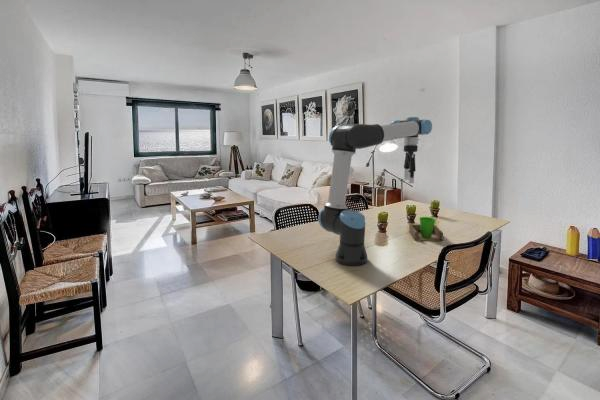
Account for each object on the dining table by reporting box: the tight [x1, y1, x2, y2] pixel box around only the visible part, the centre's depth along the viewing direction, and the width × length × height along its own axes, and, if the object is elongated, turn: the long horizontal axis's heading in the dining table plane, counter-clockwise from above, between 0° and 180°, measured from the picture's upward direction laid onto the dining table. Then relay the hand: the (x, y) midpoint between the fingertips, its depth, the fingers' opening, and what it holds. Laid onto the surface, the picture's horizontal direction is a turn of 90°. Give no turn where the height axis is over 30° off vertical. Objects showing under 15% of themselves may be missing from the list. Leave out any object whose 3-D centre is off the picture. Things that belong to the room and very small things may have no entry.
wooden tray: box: [408, 223, 444, 242], centre depth 190 cm, size 15×16×5 cm
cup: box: [418, 216, 437, 239], centre depth 187 cm, size 9×9×11 cm
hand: (408, 181), depth 191 cm, fingers open, 13 cm apart
